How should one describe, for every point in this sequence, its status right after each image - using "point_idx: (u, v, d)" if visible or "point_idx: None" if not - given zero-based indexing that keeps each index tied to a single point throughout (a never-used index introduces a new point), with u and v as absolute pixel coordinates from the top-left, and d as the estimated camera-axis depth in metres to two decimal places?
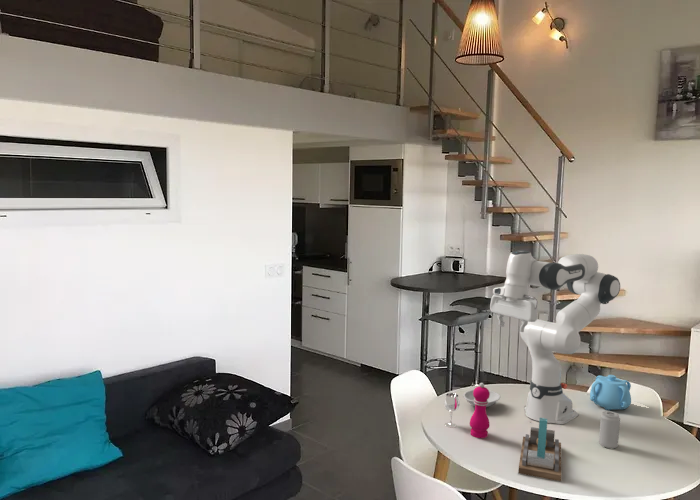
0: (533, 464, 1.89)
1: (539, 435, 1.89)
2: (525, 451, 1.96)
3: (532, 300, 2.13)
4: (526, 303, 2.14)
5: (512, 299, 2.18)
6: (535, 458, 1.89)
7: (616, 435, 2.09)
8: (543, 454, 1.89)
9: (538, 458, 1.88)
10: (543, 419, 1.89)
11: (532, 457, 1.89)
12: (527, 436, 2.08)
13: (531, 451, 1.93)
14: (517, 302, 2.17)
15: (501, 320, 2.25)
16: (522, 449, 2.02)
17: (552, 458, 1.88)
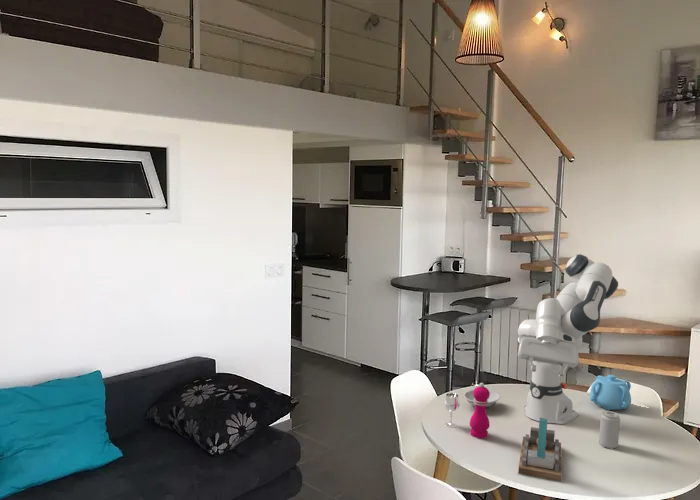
0: (533, 464, 1.89)
1: (539, 435, 1.89)
2: (525, 451, 1.96)
3: None
4: None
5: None
6: (535, 458, 1.89)
7: (616, 435, 2.09)
8: (543, 454, 1.89)
9: (538, 458, 1.88)
10: (543, 419, 1.89)
11: (532, 457, 1.89)
12: (527, 436, 2.08)
13: (531, 451, 1.93)
14: None
15: (562, 370, 2.01)
16: (522, 449, 2.02)
17: (552, 458, 1.88)
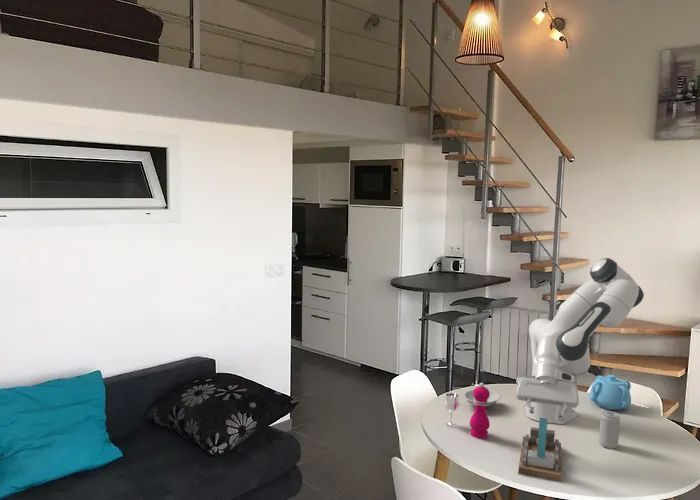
0: (533, 464, 1.89)
1: (539, 435, 1.89)
2: (525, 451, 1.96)
3: None
4: None
5: None
6: (535, 458, 1.89)
7: (616, 435, 2.09)
8: (543, 454, 1.89)
9: (538, 458, 1.88)
10: (543, 419, 1.89)
11: (532, 457, 1.89)
12: (527, 436, 2.08)
13: (531, 451, 1.93)
14: None
15: None
16: (522, 449, 2.02)
17: (552, 458, 1.88)
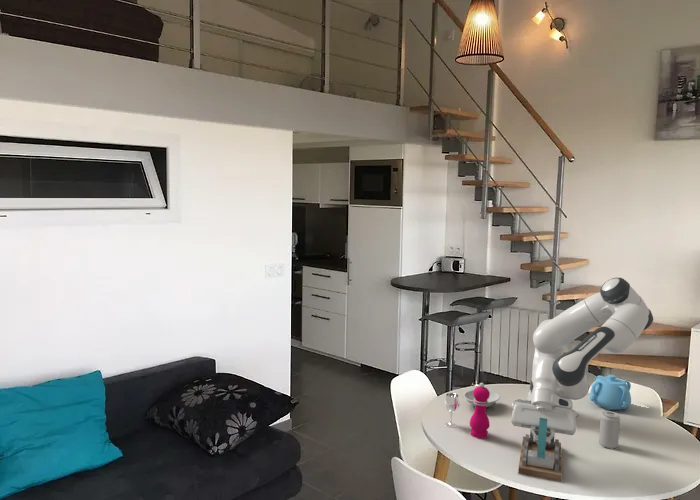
0: (533, 464, 1.89)
1: (539, 435, 1.89)
2: (525, 451, 1.96)
3: None
4: None
5: None
6: (535, 458, 1.89)
7: (616, 435, 2.09)
8: (543, 454, 1.89)
9: (538, 458, 1.88)
10: (543, 419, 1.89)
11: (532, 457, 1.89)
12: (527, 436, 2.08)
13: (531, 451, 1.93)
14: None
15: None
16: (522, 449, 2.02)
17: (552, 458, 1.88)
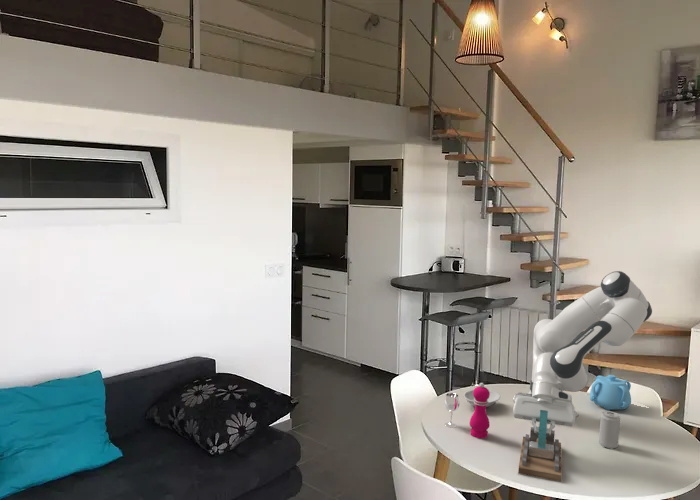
0: (534, 454, 1.96)
1: (540, 427, 1.96)
2: (525, 451, 1.96)
3: None
4: None
5: None
6: (536, 449, 1.96)
7: (616, 435, 2.09)
8: (544, 445, 1.96)
9: (539, 449, 1.95)
10: (544, 411, 1.96)
11: (533, 448, 1.96)
12: (527, 436, 2.08)
13: (532, 442, 2.00)
14: None
15: None
16: (522, 449, 2.02)
17: (552, 449, 1.95)
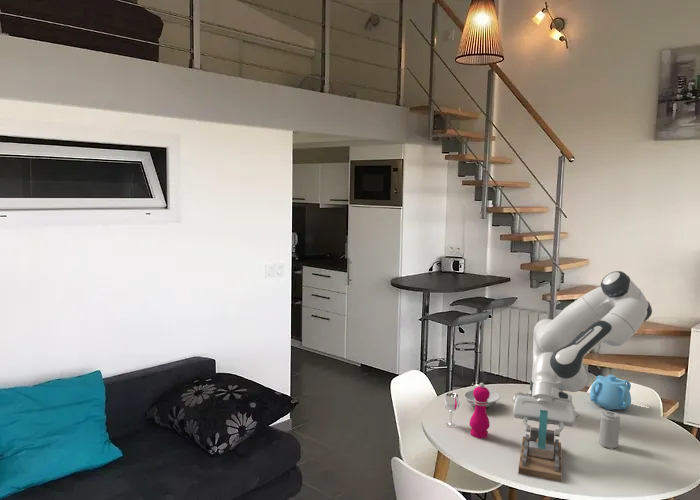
0: (534, 454, 1.96)
1: (540, 426, 1.96)
2: (525, 451, 1.96)
3: None
4: None
5: None
6: (536, 449, 1.96)
7: (616, 435, 2.09)
8: (544, 445, 1.96)
9: (539, 449, 1.95)
10: (544, 411, 1.96)
11: (533, 448, 1.96)
12: (527, 436, 2.08)
13: (532, 442, 2.00)
14: None
15: None
16: (522, 449, 2.02)
17: (552, 448, 1.95)
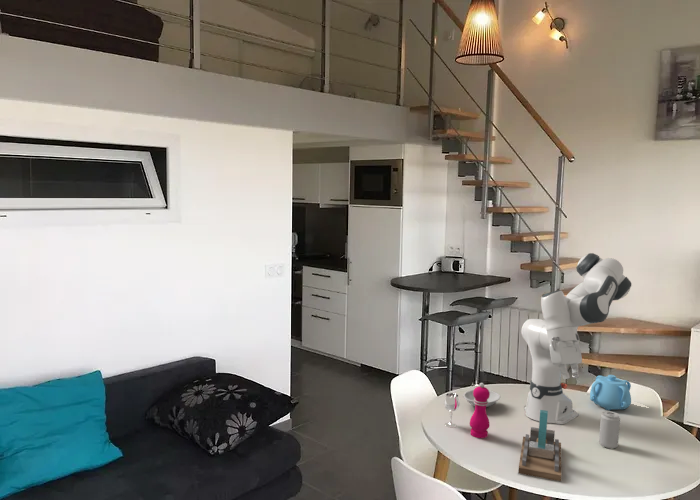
0: (534, 454, 1.96)
1: (540, 426, 1.96)
2: (525, 451, 1.96)
3: None
4: None
5: None
6: (536, 449, 1.96)
7: (616, 435, 2.09)
8: (544, 445, 1.96)
9: (539, 449, 1.95)
10: (544, 411, 1.96)
11: (533, 448, 1.96)
12: (527, 436, 2.08)
13: (532, 442, 2.00)
14: None
15: (575, 371, 2.00)
16: (522, 449, 2.02)
17: (552, 448, 1.95)
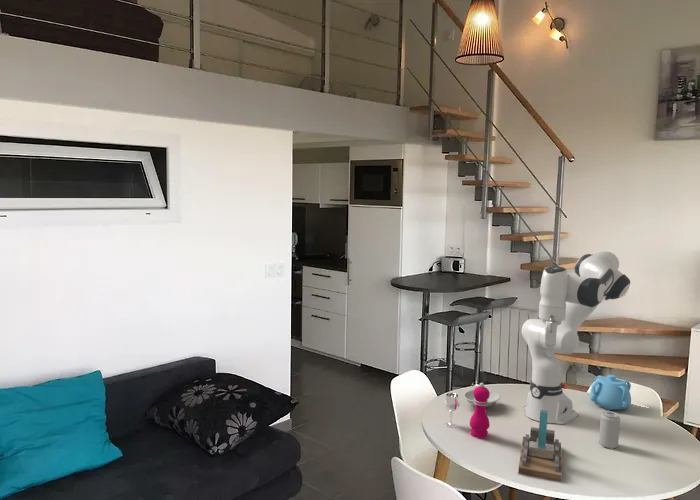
0: (534, 454, 1.96)
1: (540, 426, 1.96)
2: (525, 451, 1.96)
3: (550, 322, 1.94)
4: (545, 325, 1.96)
5: (542, 320, 2.02)
6: (536, 449, 1.96)
7: (616, 435, 2.09)
8: (544, 445, 1.96)
9: (539, 449, 1.95)
10: (544, 411, 1.96)
11: (533, 448, 1.96)
12: (527, 436, 2.08)
13: (532, 442, 2.00)
14: (545, 323, 2.00)
15: None
16: (522, 449, 2.02)
17: (552, 448, 1.95)
